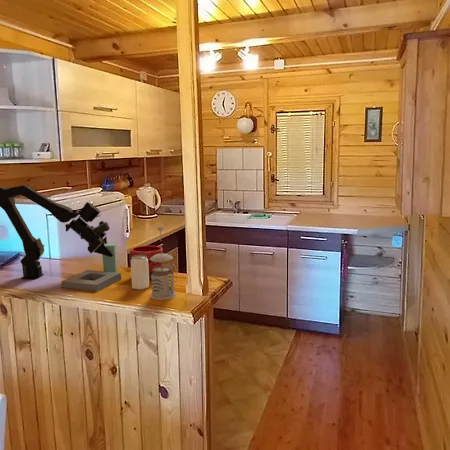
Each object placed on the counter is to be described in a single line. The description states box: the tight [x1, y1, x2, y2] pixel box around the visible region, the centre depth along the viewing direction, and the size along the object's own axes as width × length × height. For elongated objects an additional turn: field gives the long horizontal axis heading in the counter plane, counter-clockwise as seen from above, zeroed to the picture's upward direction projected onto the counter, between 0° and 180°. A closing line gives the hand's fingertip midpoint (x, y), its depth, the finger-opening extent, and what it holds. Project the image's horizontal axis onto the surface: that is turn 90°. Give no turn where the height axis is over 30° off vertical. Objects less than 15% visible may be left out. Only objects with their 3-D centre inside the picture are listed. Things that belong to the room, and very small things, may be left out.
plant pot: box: [129, 245, 164, 280], centre depth 181 cm, size 13×13×12 cm
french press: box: [149, 226, 178, 301], centre depth 156 cm, size 10×12×25 cm
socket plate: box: [61, 269, 122, 292], centre depth 174 cm, size 16×16×2 cm
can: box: [130, 255, 150, 291], centre depth 167 cm, size 6×6×12 cm
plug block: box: [102, 242, 118, 273], centre depth 188 cm, size 5×5×12 cm
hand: (112, 254), depth 187 cm, fingers closed on plug block, 5 cm apart
